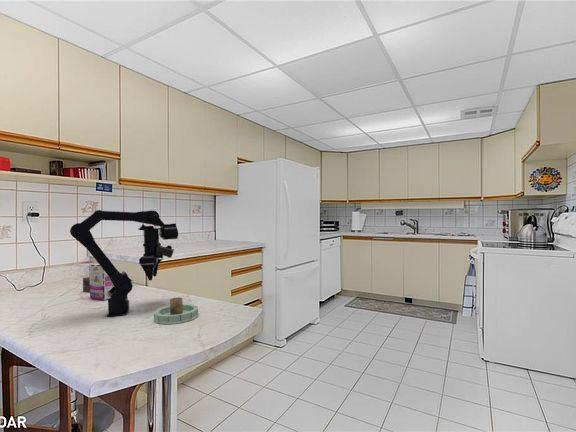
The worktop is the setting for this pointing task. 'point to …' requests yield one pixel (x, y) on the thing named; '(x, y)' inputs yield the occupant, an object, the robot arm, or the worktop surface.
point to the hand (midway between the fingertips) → (152, 278)
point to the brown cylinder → (176, 306)
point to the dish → (165, 318)
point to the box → (86, 284)
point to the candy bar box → (99, 283)
